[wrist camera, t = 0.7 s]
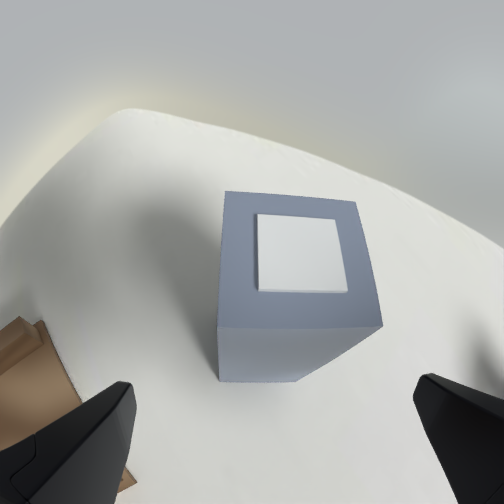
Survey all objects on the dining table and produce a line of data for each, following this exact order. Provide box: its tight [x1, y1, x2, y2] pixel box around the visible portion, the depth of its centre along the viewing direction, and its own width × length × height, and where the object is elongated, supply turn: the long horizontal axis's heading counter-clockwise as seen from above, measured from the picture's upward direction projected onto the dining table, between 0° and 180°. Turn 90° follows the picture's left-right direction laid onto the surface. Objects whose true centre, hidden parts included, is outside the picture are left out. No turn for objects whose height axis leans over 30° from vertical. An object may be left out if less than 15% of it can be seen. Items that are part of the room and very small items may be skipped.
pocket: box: [0, 316, 137, 493], centre depth 10 cm, size 12×12×3 cm
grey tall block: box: [217, 191, 383, 382], centre depth 13 cm, size 4×4×11 cm
